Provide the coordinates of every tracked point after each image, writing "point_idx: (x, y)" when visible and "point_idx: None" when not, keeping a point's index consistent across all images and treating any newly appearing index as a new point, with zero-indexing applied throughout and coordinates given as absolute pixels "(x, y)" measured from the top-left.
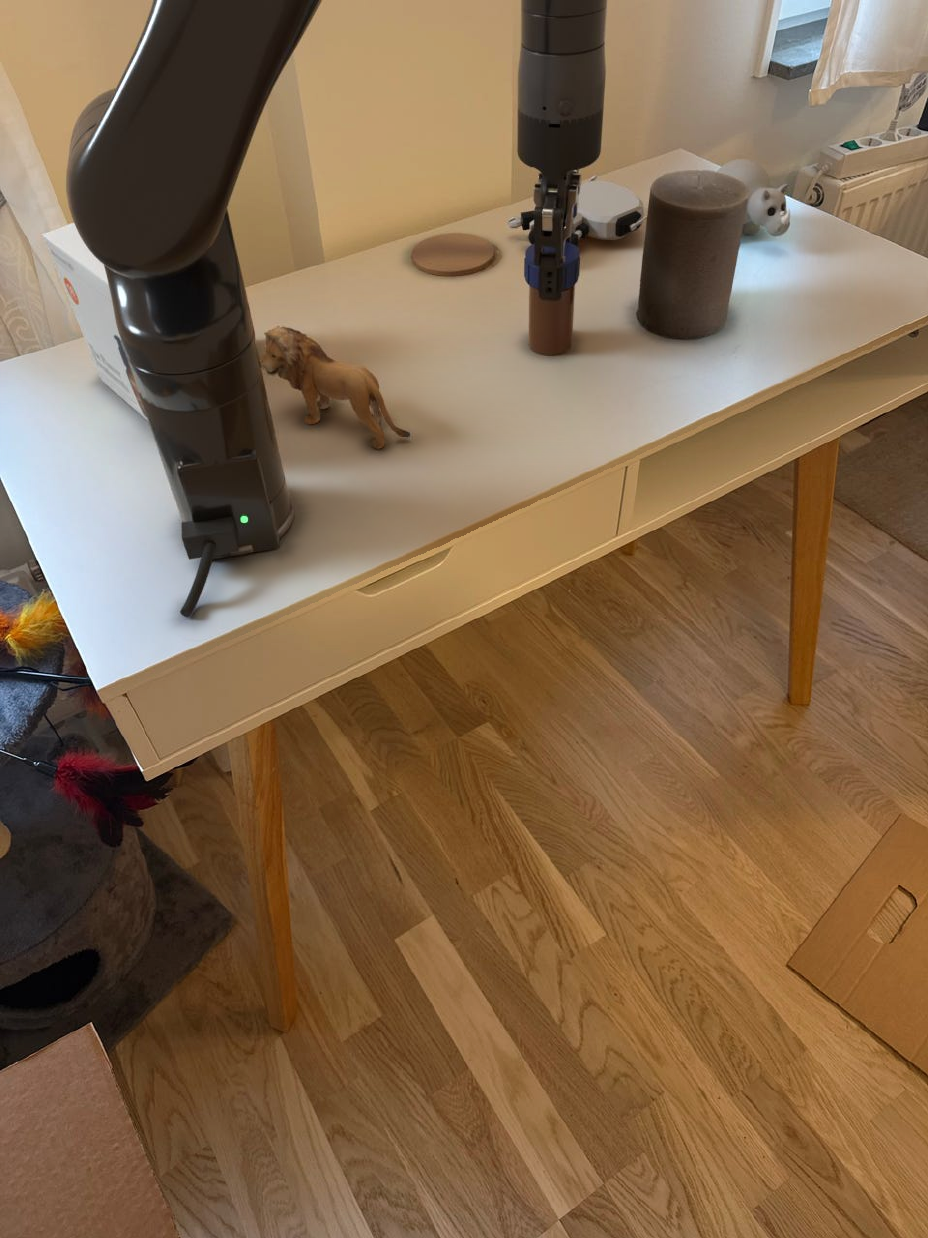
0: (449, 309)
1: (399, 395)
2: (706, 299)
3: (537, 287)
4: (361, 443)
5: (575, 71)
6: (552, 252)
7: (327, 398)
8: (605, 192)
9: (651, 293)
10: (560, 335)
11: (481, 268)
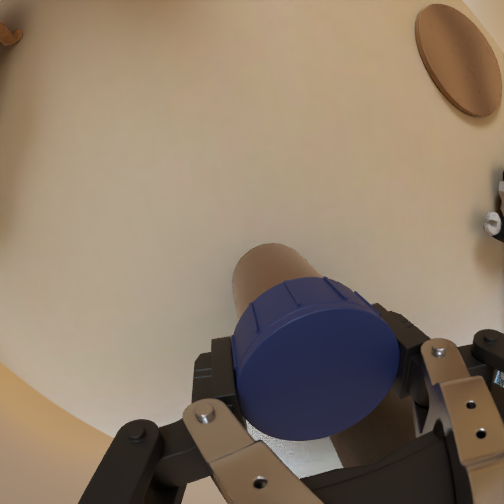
0: (331, 70)
1: (48, 105)
2: None
3: (233, 335)
4: None
5: None
6: (183, 474)
7: (2, 43)
8: None
9: (362, 422)
10: None
11: (451, 102)
